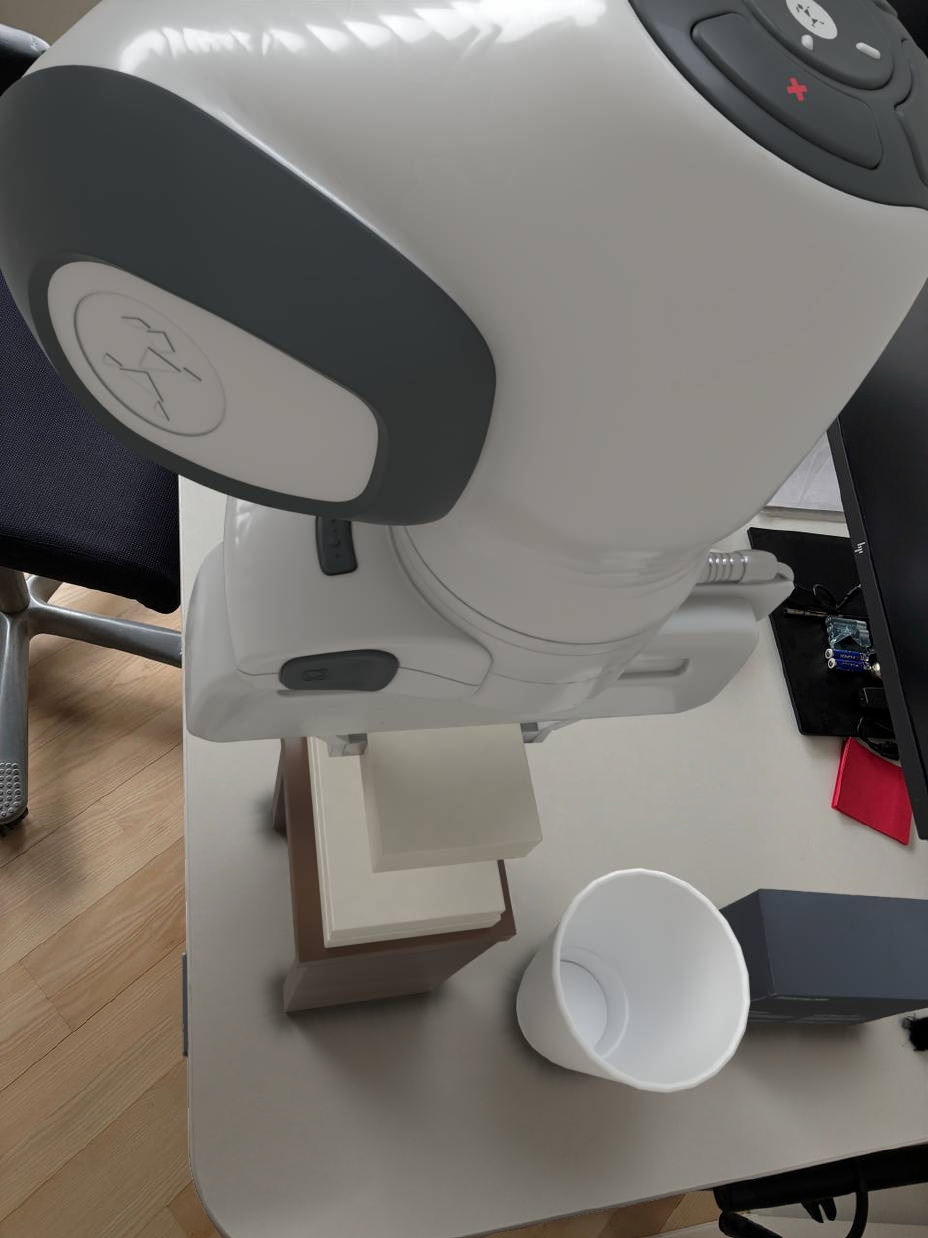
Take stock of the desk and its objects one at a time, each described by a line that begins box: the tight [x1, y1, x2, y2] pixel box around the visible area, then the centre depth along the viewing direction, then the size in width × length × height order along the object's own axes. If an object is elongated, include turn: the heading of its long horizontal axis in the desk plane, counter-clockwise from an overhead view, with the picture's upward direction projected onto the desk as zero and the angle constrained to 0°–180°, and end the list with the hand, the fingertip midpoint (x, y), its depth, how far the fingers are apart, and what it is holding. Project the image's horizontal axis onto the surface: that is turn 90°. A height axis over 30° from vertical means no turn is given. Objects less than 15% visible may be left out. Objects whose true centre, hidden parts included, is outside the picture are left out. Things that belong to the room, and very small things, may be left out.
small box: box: [718, 888, 928, 1026], centre depth 64 cm, size 13×7×12 cm, turn 90°
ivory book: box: [359, 723, 544, 873], centre depth 39 cm, size 11×6×3 cm, turn 9°
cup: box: [515, 867, 750, 1094], centre depth 58 cm, size 12×12×16 cm
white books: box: [307, 736, 505, 948], centre depth 47 cm, size 13×8×4 cm, turn 9°
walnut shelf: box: [271, 737, 518, 1013], centre depth 57 cm, size 14×11×20 cm
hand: (433, 733), depth 39 cm, fingers closed on ivory book, 6 cm apart
